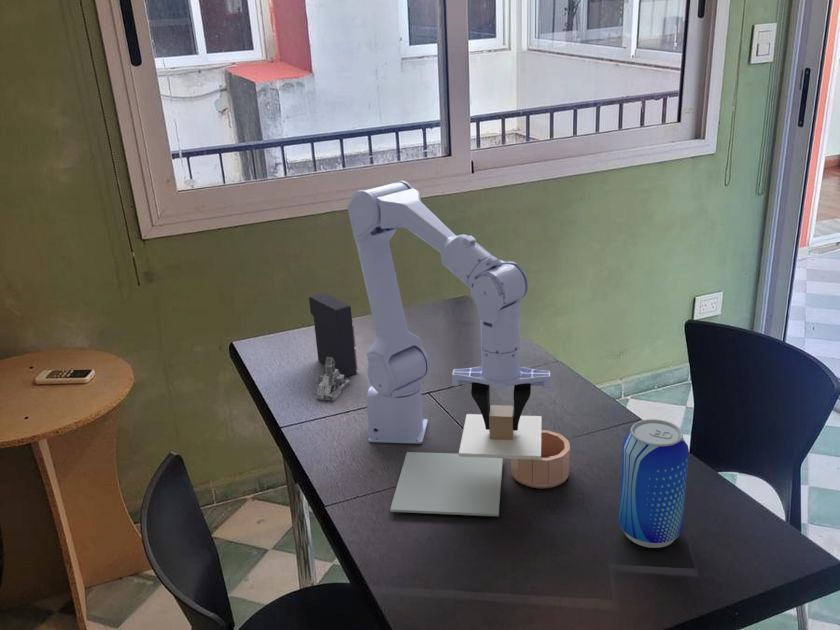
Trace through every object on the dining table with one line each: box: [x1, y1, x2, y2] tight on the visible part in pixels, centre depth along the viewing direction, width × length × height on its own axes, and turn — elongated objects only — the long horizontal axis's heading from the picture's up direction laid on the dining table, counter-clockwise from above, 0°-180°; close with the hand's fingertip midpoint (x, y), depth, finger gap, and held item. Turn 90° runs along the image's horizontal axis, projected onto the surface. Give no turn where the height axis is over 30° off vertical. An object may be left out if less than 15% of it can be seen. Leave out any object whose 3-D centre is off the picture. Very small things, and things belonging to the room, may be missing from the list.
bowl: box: [510, 429, 571, 489], centre depth 122 cm, size 9×9×5 cm
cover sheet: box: [458, 404, 543, 460], centre depth 119 cm, size 12×12×5 cm
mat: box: [389, 451, 504, 517], centre depth 121 cm, size 16×16×1 cm
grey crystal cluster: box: [316, 357, 351, 402], centre depth 153 cm, size 9×9×8 cm
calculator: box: [308, 292, 358, 377], centre depth 161 cm, size 11×4×15 cm, turn 37°
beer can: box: [618, 418, 690, 549], centre depth 105 cm, size 8×8×16 cm
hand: (501, 426), depth 119 cm, fingers closed on cover sheet, 3 cm apart
